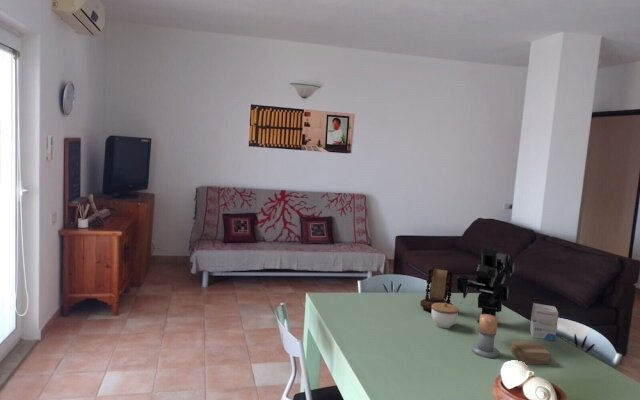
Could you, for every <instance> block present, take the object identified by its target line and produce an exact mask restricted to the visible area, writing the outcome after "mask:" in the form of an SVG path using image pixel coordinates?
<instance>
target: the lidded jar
mask: <svg viewBox="0 0 640 400" xmlns="http://www.w3.org/2000/svg"><path fill="white" fill-rule="evenodd" d="M451 304H452V303H451ZM451 304H447V303H434V304H432V311H431V310H430V311H431V314H430V315H431V318H432V320H433V322H434V324H435V325H436V327H439V328H443V329H450V328H452V326H454V325H455V324H456V323H457V320H458V316H459V312H460V311H459V310H460V309H459V307H458V306H456V305H454V304H453V305H451Z"/></svg>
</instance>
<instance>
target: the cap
mask: <svg viewBox="0 0 640 400" xmlns="http://www.w3.org/2000/svg"><path fill="white" fill-rule="evenodd" d="M479 320H480V321H479V322H478V323H479V324H478V332H479V331H481V332H483V333H487V334H496V335H497V332H498V324H499V317H497V316H493V315H489V314H480V315H479Z"/></svg>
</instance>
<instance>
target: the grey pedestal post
mask: <svg viewBox="0 0 640 400" xmlns="http://www.w3.org/2000/svg"><path fill="white" fill-rule="evenodd" d="M496 336H497V333H496V334H487V333H483V332H481V331H479V330H478V342H477V343H474V344H473V345H472V346H471V351H472V353H474V354H475V355H477V356H479V357H482V358H487V359H495V358H498V357H499V353H500V351H499V349H497V347H494V346H495V338H496Z"/></svg>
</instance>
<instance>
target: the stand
mask: <svg viewBox="0 0 640 400" xmlns="http://www.w3.org/2000/svg"><path fill="white" fill-rule="evenodd" d="M510 353H511V354H512V355H513V356H514V357H516V358H517V359H518V360H519V361H520V362H521V361H523V362H525V363H527V365H528V364H529V365H530V364H531V365H532V364H533V365H549V364H550V355H551V352H549V351H548V350H547V349H546V348H545V347H542V346H541V345H540V344H539V343H538V342H536V341H516V340H515V341H514V340H512V341H511V346H510ZM523 362H522V363H523Z"/></svg>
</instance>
